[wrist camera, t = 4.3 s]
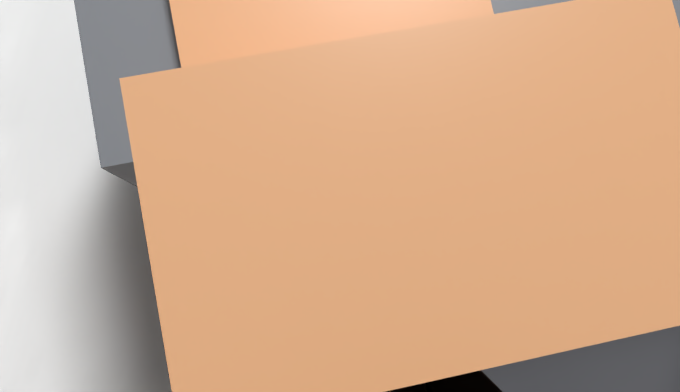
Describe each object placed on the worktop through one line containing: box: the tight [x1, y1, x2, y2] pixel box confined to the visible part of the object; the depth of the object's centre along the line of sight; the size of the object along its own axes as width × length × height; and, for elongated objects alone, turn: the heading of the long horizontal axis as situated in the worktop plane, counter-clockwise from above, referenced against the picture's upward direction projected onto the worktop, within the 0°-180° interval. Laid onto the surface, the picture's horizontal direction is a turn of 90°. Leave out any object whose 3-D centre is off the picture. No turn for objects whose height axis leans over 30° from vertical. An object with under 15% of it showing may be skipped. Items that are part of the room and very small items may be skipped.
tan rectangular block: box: [119, 0, 680, 392], centre depth 10 cm, size 3×5×10 cm, turn 101°
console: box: [74, 0, 680, 392], centre depth 13 cm, size 14×20×7 cm
